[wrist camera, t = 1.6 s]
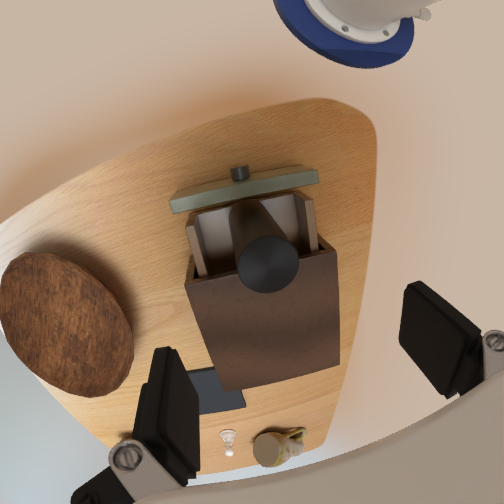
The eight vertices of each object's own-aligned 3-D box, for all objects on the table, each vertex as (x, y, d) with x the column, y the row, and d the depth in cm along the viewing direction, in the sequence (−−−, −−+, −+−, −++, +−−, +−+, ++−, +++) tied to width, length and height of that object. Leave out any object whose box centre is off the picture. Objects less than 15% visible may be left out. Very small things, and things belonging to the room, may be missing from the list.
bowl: (168, 289, 31) (162, 313, 26) (114, 391, 37) (107, 415, 32) (31, 207, 25) (8, 219, 21) (11, 331, 31) (-3, 349, 26)
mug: (291, 447, 48) (274, 482, 39) (259, 420, 49) (238, 456, 40) (318, 437, 45) (304, 476, 36) (286, 409, 46) (267, 448, 37)
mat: (231, 363, 36) (231, 366, 36) (246, 404, 40) (246, 407, 40) (162, 374, 36) (162, 377, 35) (186, 413, 40) (186, 416, 39)
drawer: (173, 178, 26) (164, 186, 21) (299, 152, 26) (315, 155, 22) (209, 308, 32) (209, 334, 27) (316, 283, 32) (330, 305, 28)
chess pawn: (238, 431, 43) (241, 453, 38) (230, 438, 44) (233, 459, 39) (224, 428, 42) (226, 450, 38) (217, 434, 43) (218, 457, 38)
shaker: (264, 194, 26) (295, 229, 16) (271, 232, 28) (302, 286, 18) (224, 203, 26) (230, 243, 16) (233, 240, 28) (243, 299, 18)
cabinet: (189, 256, 30) (184, 285, 24) (313, 228, 30) (336, 250, 24) (222, 355, 36) (224, 392, 30) (322, 331, 36) (339, 364, 30)
